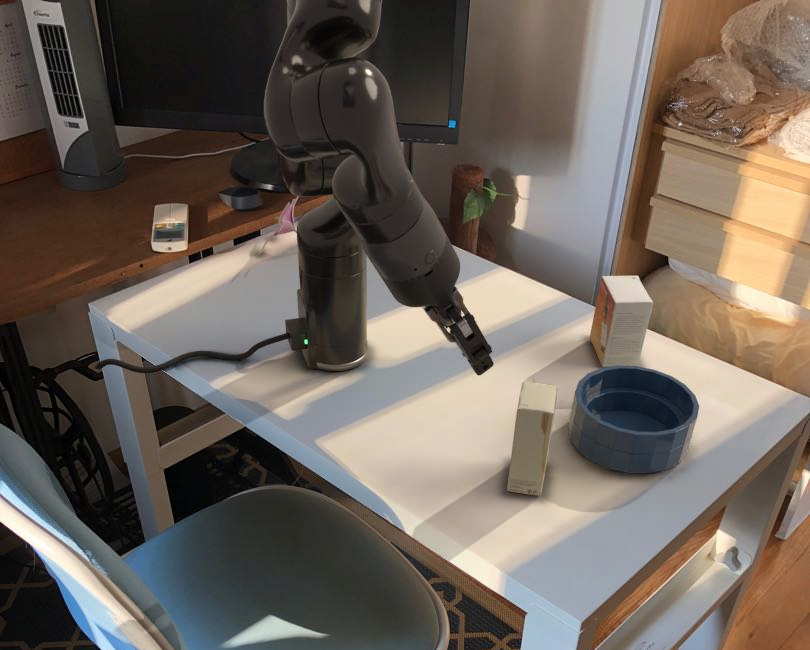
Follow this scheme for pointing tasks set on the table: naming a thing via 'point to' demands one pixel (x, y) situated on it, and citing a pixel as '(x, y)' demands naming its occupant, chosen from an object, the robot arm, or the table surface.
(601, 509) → the table surface
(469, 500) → the table surface
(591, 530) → the table surface
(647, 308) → the small box
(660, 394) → the bowl
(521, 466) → the cosmetic box
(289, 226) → the lily
